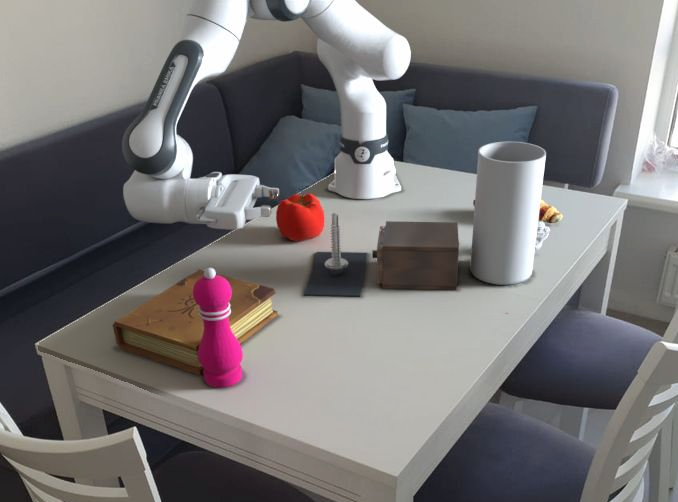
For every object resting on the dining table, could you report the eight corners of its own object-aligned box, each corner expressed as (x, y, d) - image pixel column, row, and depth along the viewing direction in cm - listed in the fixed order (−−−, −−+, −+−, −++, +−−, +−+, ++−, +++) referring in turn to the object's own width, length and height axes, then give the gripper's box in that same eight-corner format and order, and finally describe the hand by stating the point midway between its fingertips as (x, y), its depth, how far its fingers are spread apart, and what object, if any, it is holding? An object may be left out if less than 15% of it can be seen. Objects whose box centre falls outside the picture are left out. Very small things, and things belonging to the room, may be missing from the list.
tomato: (300, 250, 175) (297, 211, 170) (267, 235, 182) (264, 197, 177) (337, 237, 180) (335, 198, 175) (304, 222, 188) (301, 185, 183)
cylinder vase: (458, 266, 166) (466, 147, 152) (510, 255, 170) (521, 138, 156) (490, 291, 157) (501, 166, 143) (544, 279, 161) (559, 156, 147)
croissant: (561, 233, 188) (568, 199, 187) (557, 228, 178) (565, 192, 177) (474, 220, 194) (480, 187, 193) (465, 214, 185) (472, 180, 184)
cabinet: (382, 288, 159) (382, 246, 154) (385, 261, 169) (386, 221, 164) (456, 290, 157) (459, 247, 152) (455, 262, 168) (457, 222, 163)
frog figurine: (545, 259, 168) (549, 228, 164) (511, 256, 170) (514, 225, 166) (548, 248, 173) (552, 218, 169) (516, 244, 175) (519, 214, 171)
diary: (199, 295, 158) (196, 268, 155) (277, 316, 150) (275, 288, 147) (117, 348, 142) (111, 319, 138) (199, 375, 134) (195, 345, 130)
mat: (316, 253, 173) (316, 251, 173) (367, 253, 172) (367, 252, 172) (304, 295, 157) (304, 294, 157) (360, 296, 156) (360, 295, 156)
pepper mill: (210, 394, 129) (193, 282, 118) (195, 373, 134) (179, 264, 123) (251, 382, 131) (239, 271, 120) (236, 361, 137) (223, 254, 126)
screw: (322, 269, 166) (344, 266, 167) (328, 279, 162) (351, 275, 163) (319, 210, 159) (342, 206, 160) (326, 218, 155) (350, 215, 156)
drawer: (370, 283, 159) (370, 249, 155) (374, 258, 168) (374, 226, 164) (445, 284, 158) (446, 250, 154) (444, 260, 167) (446, 227, 163)
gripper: (190, 205, 148) (263, 206, 147) (215, 168, 165) (281, 169, 164) (195, 237, 152) (266, 238, 150) (219, 198, 169) (283, 198, 167)
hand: (274, 202), depth 157 cm, fingers open, 8 cm apart
